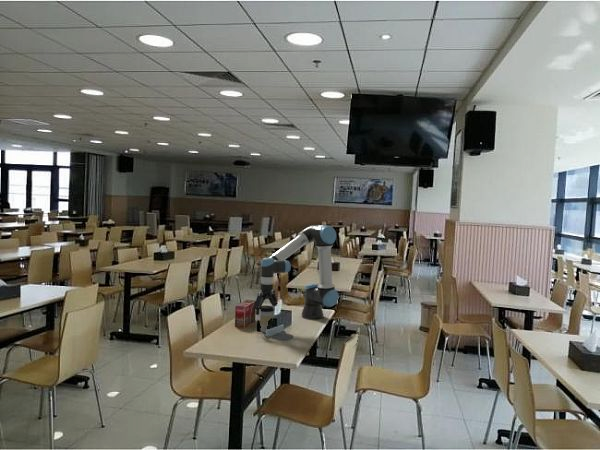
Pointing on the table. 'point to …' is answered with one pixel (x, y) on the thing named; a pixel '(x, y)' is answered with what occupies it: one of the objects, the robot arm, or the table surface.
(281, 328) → the grey bar handle
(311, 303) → the robot arm
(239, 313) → the ice cream box
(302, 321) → the table surface
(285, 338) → the coaster
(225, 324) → the table surface
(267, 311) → the coffee cup
